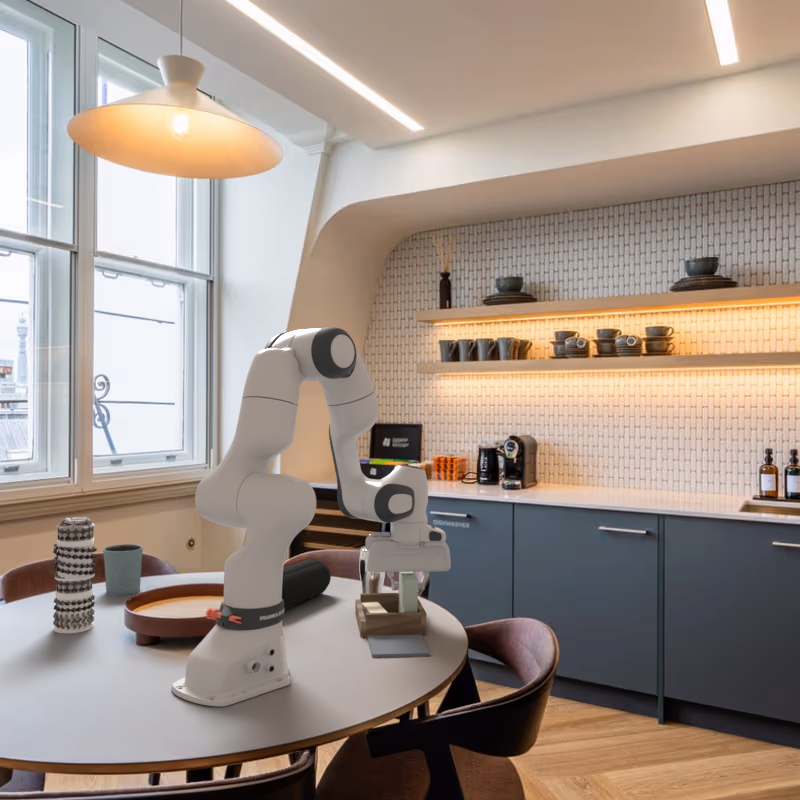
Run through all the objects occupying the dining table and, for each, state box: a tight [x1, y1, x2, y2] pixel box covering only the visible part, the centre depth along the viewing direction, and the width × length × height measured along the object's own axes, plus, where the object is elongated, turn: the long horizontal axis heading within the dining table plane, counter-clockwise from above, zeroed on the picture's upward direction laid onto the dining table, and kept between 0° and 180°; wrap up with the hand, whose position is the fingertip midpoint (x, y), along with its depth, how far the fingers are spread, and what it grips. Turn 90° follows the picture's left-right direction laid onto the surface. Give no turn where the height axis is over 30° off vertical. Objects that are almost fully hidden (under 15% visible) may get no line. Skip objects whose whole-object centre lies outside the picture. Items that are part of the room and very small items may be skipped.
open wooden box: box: [354, 592, 428, 638], centre depth 171 cm, size 18×15×5 cm
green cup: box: [102, 543, 144, 597], centre depth 196 cm, size 10×10×12 cm
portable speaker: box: [282, 558, 332, 610], centre depth 187 cm, size 26×10×10 cm, turn 153°
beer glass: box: [358, 545, 386, 593], centre depth 186 cm, size 7×7×15 cm
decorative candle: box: [52, 516, 98, 635], centre depth 164 cm, size 9×9×25 cm
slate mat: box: [366, 634, 430, 658], centre depth 155 cm, size 12×12×1 cm
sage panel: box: [398, 572, 419, 613], centre depth 172 cm, size 11×3×12 cm, turn 7°
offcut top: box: [362, 602, 388, 617], centre depth 171 cm, size 11×4×2 cm, turn 17°
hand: (407, 589), depth 172 cm, fingers open, 5 cm apart
